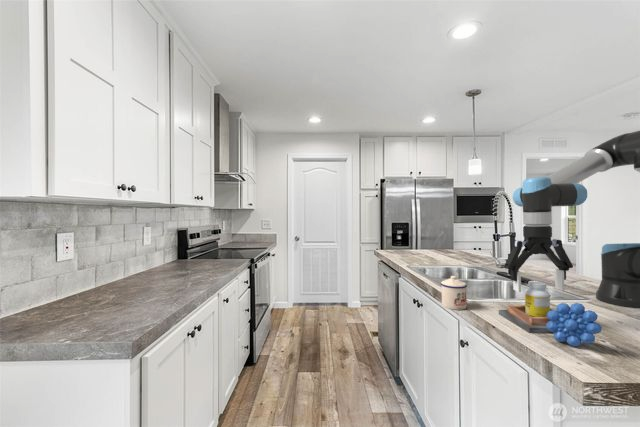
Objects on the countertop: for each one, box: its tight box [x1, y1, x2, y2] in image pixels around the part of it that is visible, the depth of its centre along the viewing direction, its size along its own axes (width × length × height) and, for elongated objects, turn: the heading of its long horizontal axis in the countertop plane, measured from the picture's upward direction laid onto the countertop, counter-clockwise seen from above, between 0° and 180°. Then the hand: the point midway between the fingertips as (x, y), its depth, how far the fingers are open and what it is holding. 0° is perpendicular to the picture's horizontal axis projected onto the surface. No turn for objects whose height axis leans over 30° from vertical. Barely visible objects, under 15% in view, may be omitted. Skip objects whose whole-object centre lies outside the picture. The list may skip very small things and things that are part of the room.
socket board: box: [498, 304, 556, 334], centre depth 95 cm, size 16×16×4 cm
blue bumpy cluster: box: [546, 302, 603, 348], centre depth 79 cm, size 12×7×12 cm, turn 36°
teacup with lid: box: [440, 275, 468, 311], centre depth 112 cm, size 12×9×12 cm
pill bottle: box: [524, 280, 551, 317], centre depth 95 cm, size 6×6×12 cm
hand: (538, 290), depth 95 cm, fingers open, 13 cm apart
